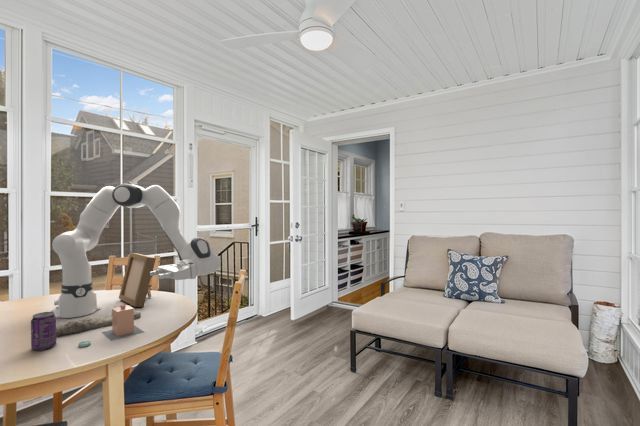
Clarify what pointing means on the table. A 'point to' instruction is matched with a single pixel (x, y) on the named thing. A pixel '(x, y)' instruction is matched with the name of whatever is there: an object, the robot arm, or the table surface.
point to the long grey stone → (86, 325)
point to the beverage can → (43, 330)
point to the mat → (112, 336)
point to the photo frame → (137, 279)
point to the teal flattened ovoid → (84, 344)
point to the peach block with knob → (122, 320)
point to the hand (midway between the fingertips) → (154, 275)
